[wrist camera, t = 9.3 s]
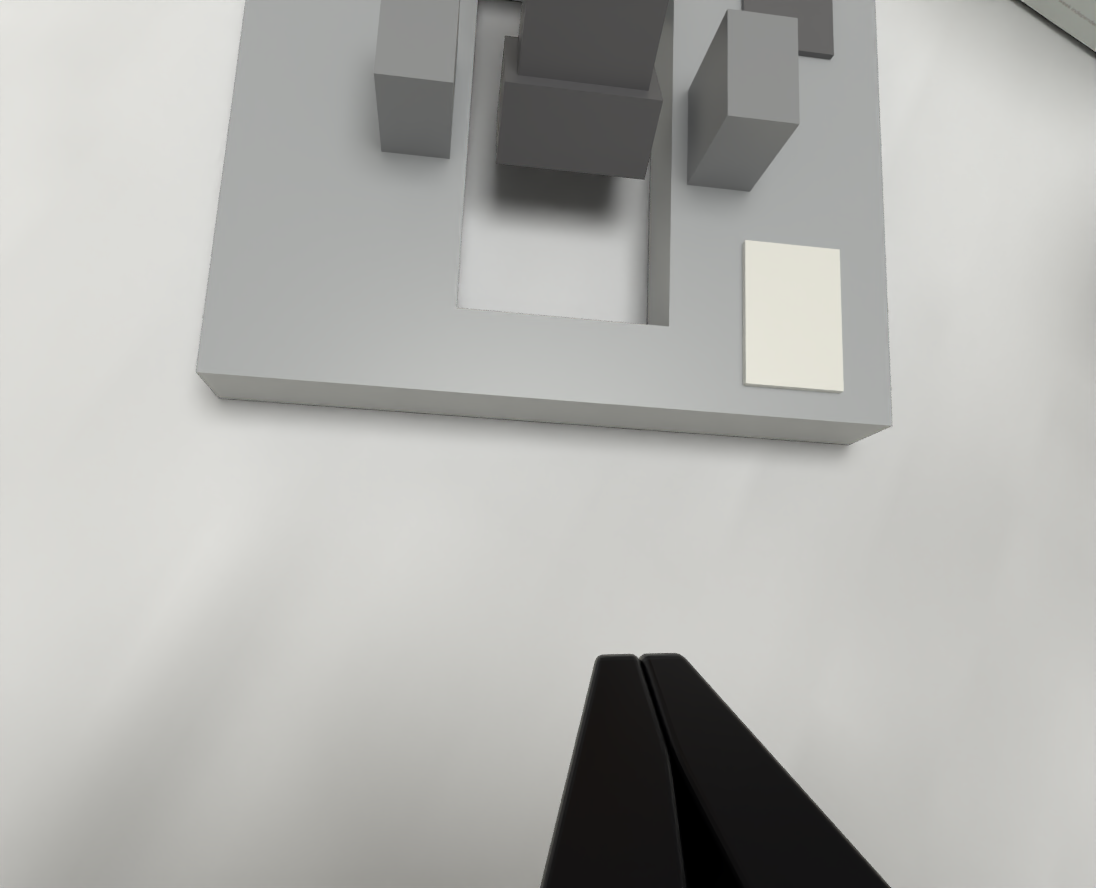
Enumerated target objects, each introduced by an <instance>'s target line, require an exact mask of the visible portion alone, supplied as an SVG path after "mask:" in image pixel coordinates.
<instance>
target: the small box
mask: <svg viewBox="0 0 1096 888" xmlns="http://www.w3.org/2000/svg"><path fill="white" fill-rule="evenodd" d="M1021 1H1022V2H1024V3H1025V4H1027V5H1028V6H1030V7H1031V8H1033V9H1034V10H1035V11H1037V12H1038V13H1040V14H1041V15H1043V16H1044V17H1045V18H1047V19H1048V20H1050V21H1051V22H1053V23H1054V24H1055V25H1057V26H1058V27H1060V28H1061V29H1063V30H1064V31H1066V32H1067V33H1069V34H1070V35H1072V36H1073V37H1074V38H1076V39H1077V40H1079V41H1080V42H1082V43H1083V44H1085V45H1086V46H1088V47H1089V48H1091V49H1092V50H1093V51H1095V52H1096V0H1021Z"/></svg>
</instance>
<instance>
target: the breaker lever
mask: <svg viewBox="0 0 1096 888" xmlns="http://www.w3.org/2000/svg"><path fill="white" fill-rule="evenodd" d="M668 2H669V0H522V9H521V18H520V27H519V36H518V37H510V36H505V41H504V51H503V61H502V71H501V81H500V91H499V101H498V111H497V149H496V163H497V164H506V165H515V166H524V167H533V168H542V169H552V170H561V171H570V172H579V173H588V174H598V175H607V176H616V177H625V178H634V179H643V180H644V178H645V174H646V170H647V166H648V162H649V158H650V154H651V149H652V145H653V141H654V137H655V133H656V129H657V125H658V121H659V116H660V112H661V108H662V104H663V97H662V93H661V90H660V86H659V82H658V78H657V74H656V70H655V66H654V64H655V60H656V55H657V51H658V47H659V42H660V38H661V33H662V29H663V24H664V20H665V16H666V11H667V7H668Z"/></svg>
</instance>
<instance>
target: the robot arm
mask: <svg viewBox="0 0 1096 888" xmlns="http://www.w3.org/2000/svg"><path fill="white" fill-rule="evenodd" d="M540 888H891V887H890V886H889V885H888V884H887V883H886V882H885V880H884V879H883V878H882V877H881V876H880V875H879V874H878V873H877V872H876V870H875V869H874V868H873V867H872V866H871V865H870V864H869V863H868V862H867V860H866V859H865V858H864V857H863V856H862V855H861V854H860V853H859V851H858V850H857V849H856V848H855V847H854V846H853V845H852V844H851V843H850V841H849V840H848V839H847V838H846V837H845V836H844V835H843V834H842V832H841V831H840V830H839V829H838V828H837V827H836V826H835V825H834V824H833V822H832V821H831V820H830V819H829V818H828V817H827V816H826V815H825V814H824V812H823V811H822V810H821V809H820V808H819V807H818V806H817V805H816V803H815V802H814V801H813V800H812V799H811V798H810V797H809V796H808V795H807V793H806V792H805V791H804V790H803V789H802V788H801V787H800V786H799V784H798V783H797V782H796V781H795V780H794V779H793V778H792V777H791V776H790V774H789V773H788V772H787V771H786V770H785V769H784V768H783V767H782V766H781V764H780V763H779V762H778V761H777V760H776V759H775V758H774V757H773V755H772V754H771V753H770V752H769V751H768V750H767V749H766V748H765V747H764V745H763V744H762V743H761V742H760V741H759V740H758V739H757V738H756V736H755V735H754V734H753V733H752V732H751V731H750V730H749V729H748V728H747V726H746V725H745V724H744V723H743V722H742V721H741V720H740V719H739V718H738V716H737V715H736V714H735V713H734V712H733V711H732V710H731V709H730V707H729V706H728V705H727V704H726V703H725V702H724V701H723V700H722V699H721V697H720V696H719V695H718V694H717V693H716V692H715V691H714V690H713V689H712V687H711V686H710V685H709V684H708V683H707V682H706V681H705V680H704V678H703V677H702V676H701V675H700V674H699V673H698V672H697V671H696V670H695V668H694V667H693V666H692V665H691V664H690V663H689V662H688V661H687V660H686V659H685V658H684V657H683V656H682V655H680V654H677V653H655V654H644V655H642V656H640V657H639V659H638V657H637V656H635V655H634V654H607V655H600V656H598V657H597V658H596V660H595V664H594V667H593V672H592V676H591V680H590V684H589V688H588V692H587V696H586V700H585V704H584V709H583V713H582V717H581V721H580V725H579V729H578V733H577V737H576V742H575V746H574V750H573V754H572V758H571V762H570V766H569V770H568V775H567V779H566V783H565V787H564V791H563V795H562V799H561V803H560V807H559V812H558V816H557V820H556V824H555V828H554V832H553V836H552V840H551V845H550V849H549V853H548V857H547V861H546V865H545V869H544V873H543V877H542V882H541V886H540Z"/></svg>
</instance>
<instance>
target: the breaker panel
mask: <svg viewBox="0 0 1096 888" xmlns="http://www.w3.org/2000/svg"><path fill="white" fill-rule="evenodd" d="M514 1H522V0H514ZM477 5H478V0H246V1H245V8H244V16H243V23H242V31H241V38H240V46H239V53H238V60H237V68H236V75H235V83H234V90H233V98H232V105H231V113H230V120H229V128H228V135H227V142H226V150H225V157H224V165H223V172H222V180H221V187H220V195H219V202H218V210H217V217H216V224H215V232H214V239H213V247H212V254H211V262H210V269H209V277H208V284H207V292H206V299H205V307H204V314H203V321H202V329H201V336H200V344H199V351H198V359H197V366H196V373H197V374H198V375H199V376H200V377H201V379H202V380H203V381H204V382H205V383H206V384H207V385H208V386H209V387H210V389H211V390H212V391H213V392H214V393H215V394H216V395H217V396H218V397H219V398H224V399H238V400H251V401H265V402H278V403H292V404H305V405H319V406H332V407H346V408H360V409H373V410H387V411H400V412H414V413H427V414H441V415H454V416H468V417H481V418H495V419H508V420H522V421H535V422H549V423H562V424H576V425H589V426H603V427H617V428H630V429H644V430H657V431H671V432H684V433H698V434H711V435H725V436H738V437H752V438H765V439H779V440H792V441H806V442H819V443H833V444H847V445H850V444H852V443H855V442H857V441H859V440H862V439H864V438H866V437H868V436H871V435H873V434H875V433H877V432H880V431H882V430H884V429H887V428H889V427H891V426H893V425H892V400H891V376H890V351H889V327H888V303H887V278H886V254H885V229H884V205H883V180H882V156H881V132H880V107H879V83H878V58H877V34H876V9H875V0H669V2H668V7H667V11H666V16H665V20H664V24H663V29H662V33H661V38H660V42H659V47H658V51H657V55H656V60H655V64H654V66H655V70H656V74H657V78H658V82H659V86H660V90H661V93H662V97H663V104H662V108H661V112H660V116H659V121H658V125H657V129H656V133H655V137H654V141H653V145H652V149H651V167H650V216H649V264H648V313H647V324H636V323H624V322H613V321H602V320H591V319H579V318H568V317H557V316H545V315H534V314H523V313H512V312H500V311H489V310H478V309H466V308H456V307H457V293H458V278H459V264H460V249H461V235H462V221H463V206H464V192H465V178H466V163H467V149H468V134H469V120H470V106H471V91H472V77H473V63H474V48H475V34H476V19H477Z"/></svg>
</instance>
